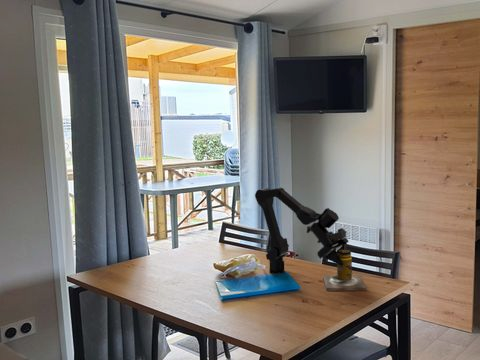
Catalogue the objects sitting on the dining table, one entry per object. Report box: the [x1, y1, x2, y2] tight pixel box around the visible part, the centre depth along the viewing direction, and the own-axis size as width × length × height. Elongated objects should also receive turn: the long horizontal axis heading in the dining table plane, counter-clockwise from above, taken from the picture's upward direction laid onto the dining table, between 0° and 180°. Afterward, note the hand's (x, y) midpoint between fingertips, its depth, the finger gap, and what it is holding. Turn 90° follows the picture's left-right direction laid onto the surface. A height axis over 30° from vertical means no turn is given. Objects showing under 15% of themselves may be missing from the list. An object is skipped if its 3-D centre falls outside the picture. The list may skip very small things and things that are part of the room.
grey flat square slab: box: [322, 274, 367, 292], centre depth 202 cm, size 16×16×1 cm
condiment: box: [329, 249, 355, 282], centre depth 201 cm, size 7×8×12 cm
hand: (346, 263), depth 200 cm, fingers closed on condiment, 6 cm apart
